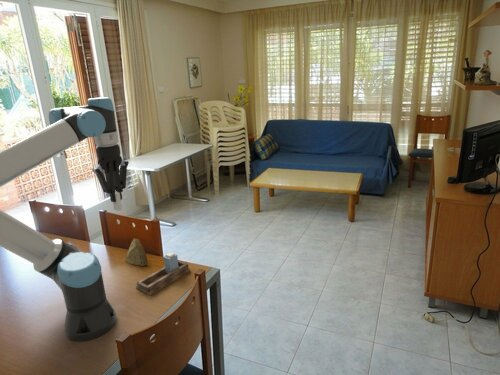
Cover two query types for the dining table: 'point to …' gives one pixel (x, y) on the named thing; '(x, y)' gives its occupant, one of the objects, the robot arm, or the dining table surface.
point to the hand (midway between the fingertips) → (118, 209)
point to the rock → (136, 254)
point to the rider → (170, 262)
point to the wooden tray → (161, 278)
